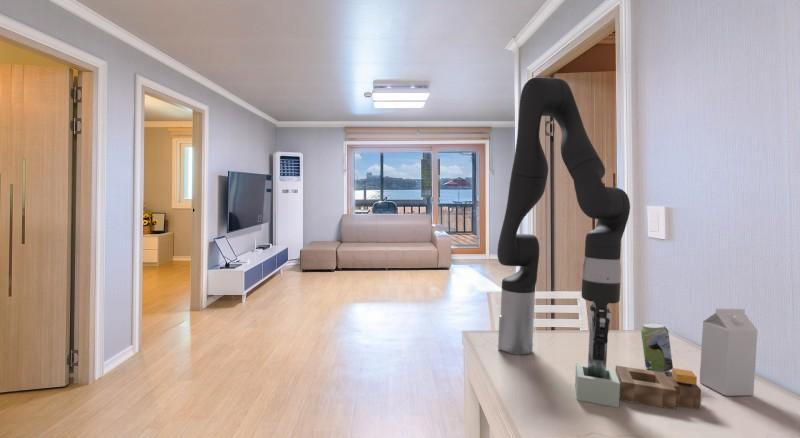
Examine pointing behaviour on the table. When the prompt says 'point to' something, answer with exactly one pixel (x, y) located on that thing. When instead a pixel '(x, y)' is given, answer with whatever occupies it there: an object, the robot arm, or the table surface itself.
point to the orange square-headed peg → (684, 377)
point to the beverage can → (656, 347)
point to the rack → (597, 387)
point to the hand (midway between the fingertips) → (597, 356)
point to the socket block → (655, 389)
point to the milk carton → (728, 352)
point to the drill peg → (596, 366)
